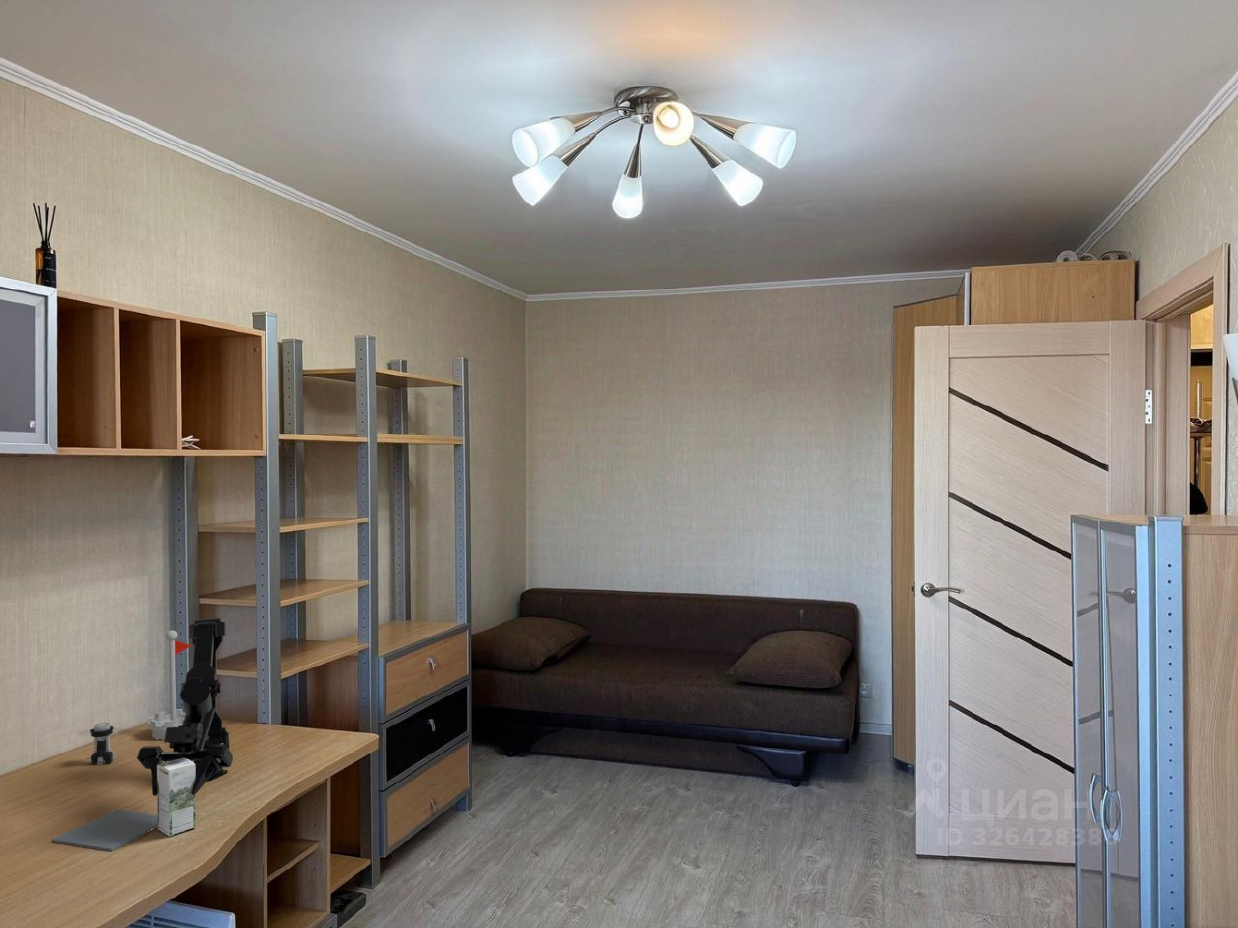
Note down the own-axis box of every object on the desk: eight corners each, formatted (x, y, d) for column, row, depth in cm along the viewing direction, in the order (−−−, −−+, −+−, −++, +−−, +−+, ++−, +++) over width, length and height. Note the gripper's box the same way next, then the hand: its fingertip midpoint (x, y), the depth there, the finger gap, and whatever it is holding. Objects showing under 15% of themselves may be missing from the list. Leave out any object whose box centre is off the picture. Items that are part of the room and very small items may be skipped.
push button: (81, 767, 229) (80, 728, 229) (90, 760, 234) (89, 722, 234) (109, 765, 230) (108, 727, 230) (117, 758, 235) (116, 721, 235)
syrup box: (184, 821, 194) (183, 755, 194) (197, 828, 190) (195, 761, 190) (157, 830, 190) (156, 763, 190) (169, 837, 186) (168, 769, 186)
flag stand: (153, 744, 247) (151, 637, 246) (143, 732, 257) (141, 630, 257) (203, 734, 255) (201, 630, 255) (192, 723, 265) (190, 624, 265)
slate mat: (116, 811, 200) (115, 809, 200) (172, 819, 195) (172, 817, 195) (51, 841, 185) (51, 839, 185) (111, 851, 180) (111, 848, 180)
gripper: (140, 710, 193) (113, 778, 183) (226, 708, 194) (205, 776, 183) (158, 734, 201) (134, 801, 191) (241, 732, 202) (222, 799, 191)
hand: (173, 794), depth 189 cm, fingers closed on syrup box, 8 cm apart
